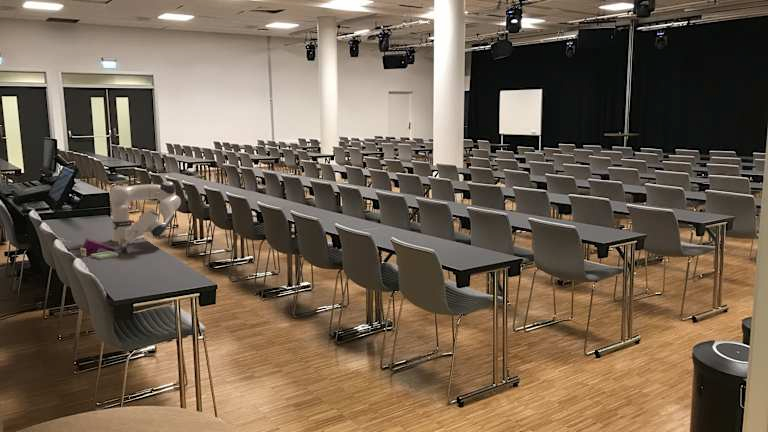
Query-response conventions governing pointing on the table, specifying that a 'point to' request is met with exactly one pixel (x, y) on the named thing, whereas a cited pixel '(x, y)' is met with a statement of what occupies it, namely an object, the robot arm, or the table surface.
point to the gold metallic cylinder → (119, 242)
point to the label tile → (83, 252)
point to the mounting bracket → (95, 246)
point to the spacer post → (123, 249)
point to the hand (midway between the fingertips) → (122, 245)
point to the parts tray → (104, 255)
